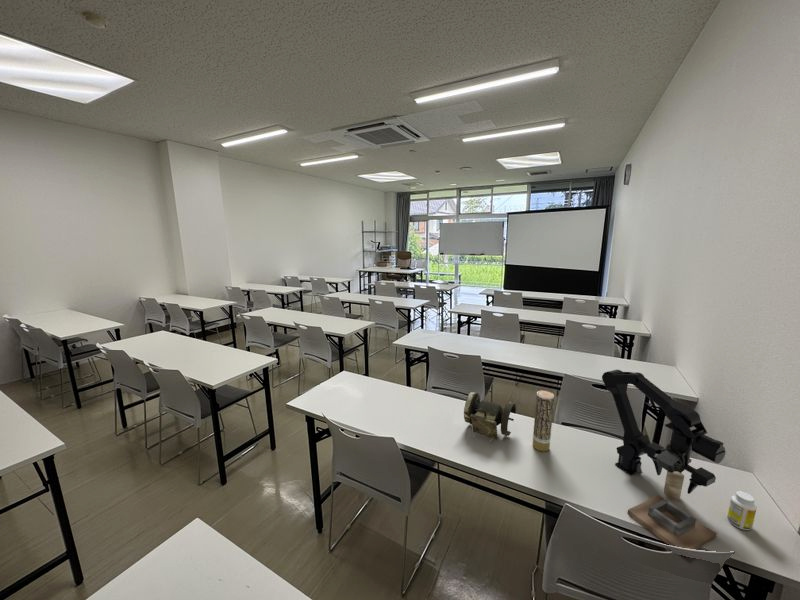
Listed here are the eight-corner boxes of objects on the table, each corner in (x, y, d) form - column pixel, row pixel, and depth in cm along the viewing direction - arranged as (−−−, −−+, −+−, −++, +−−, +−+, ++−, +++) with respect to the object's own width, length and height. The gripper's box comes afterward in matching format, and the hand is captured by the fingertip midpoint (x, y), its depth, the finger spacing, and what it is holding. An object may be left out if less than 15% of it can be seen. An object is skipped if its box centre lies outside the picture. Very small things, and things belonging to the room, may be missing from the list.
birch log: (551, 453, 136) (556, 398, 131) (534, 451, 137) (538, 397, 132) (547, 443, 142) (552, 391, 137) (531, 441, 144) (535, 389, 139)
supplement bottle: (750, 523, 102) (757, 495, 100) (752, 534, 98) (759, 506, 96) (726, 513, 106) (732, 486, 104) (726, 523, 102) (733, 496, 100)
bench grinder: (475, 406, 167) (468, 380, 156) (519, 417, 154) (515, 390, 144) (461, 440, 153) (453, 414, 143) (508, 455, 141) (502, 428, 131)
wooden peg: (660, 493, 114) (664, 470, 113) (668, 489, 116) (672, 467, 114) (675, 502, 110) (679, 479, 109) (682, 498, 112) (687, 476, 110)
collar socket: (627, 513, 106) (629, 501, 105) (657, 498, 112) (659, 487, 111) (684, 557, 91) (687, 544, 91) (716, 537, 97) (718, 525, 96)
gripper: (636, 434, 115) (630, 472, 118) (700, 468, 98) (691, 512, 101) (656, 427, 119) (649, 464, 122) (720, 459, 102) (711, 501, 105)
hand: (673, 483), depth 112 cm, fingers open, 9 cm apart
